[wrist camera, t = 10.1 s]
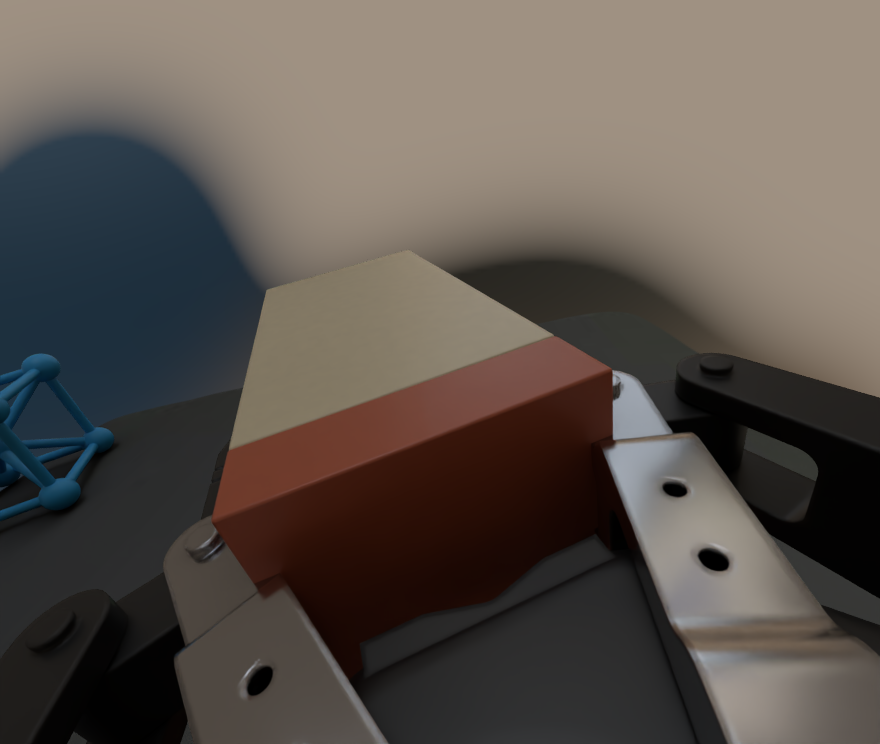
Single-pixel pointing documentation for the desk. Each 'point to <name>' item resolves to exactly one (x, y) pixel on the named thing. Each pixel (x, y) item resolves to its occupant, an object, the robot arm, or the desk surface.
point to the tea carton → (406, 447)
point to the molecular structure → (9, 456)
